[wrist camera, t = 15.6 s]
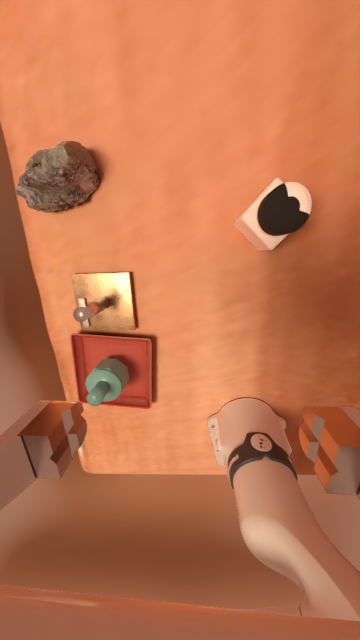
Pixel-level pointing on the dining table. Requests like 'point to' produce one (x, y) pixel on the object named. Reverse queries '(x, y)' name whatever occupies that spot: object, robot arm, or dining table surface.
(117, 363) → the cap
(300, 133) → the dining table surface
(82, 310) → the post
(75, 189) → the mineral rock
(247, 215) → the medicine bottle
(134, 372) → the plant saucer
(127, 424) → the dining table surface
